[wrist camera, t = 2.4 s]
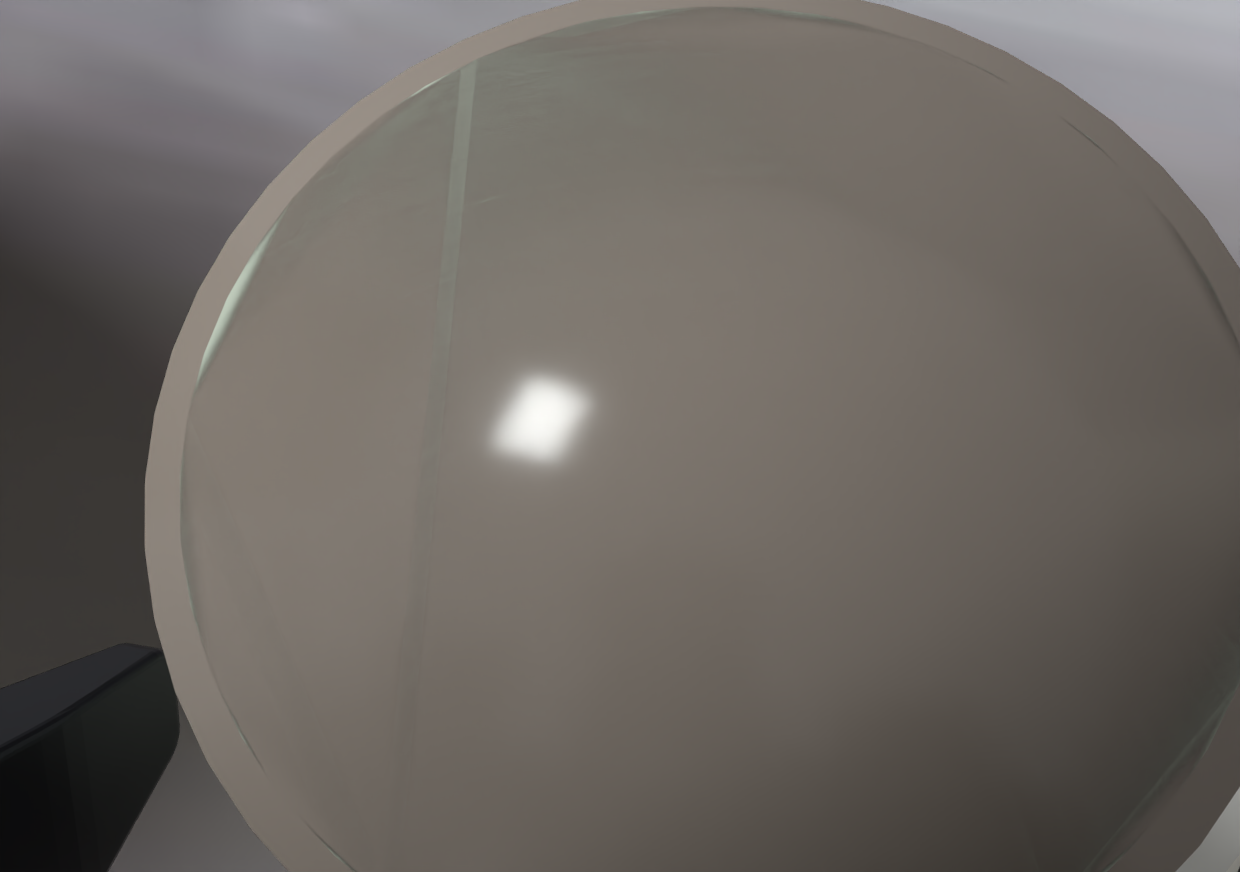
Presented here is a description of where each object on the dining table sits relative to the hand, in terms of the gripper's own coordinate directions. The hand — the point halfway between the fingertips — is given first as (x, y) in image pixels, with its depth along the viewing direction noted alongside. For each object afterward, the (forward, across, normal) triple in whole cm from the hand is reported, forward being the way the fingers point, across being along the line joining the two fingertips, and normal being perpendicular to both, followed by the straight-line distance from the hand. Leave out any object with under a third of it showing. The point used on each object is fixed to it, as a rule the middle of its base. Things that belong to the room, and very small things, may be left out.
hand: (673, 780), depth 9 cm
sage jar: (+8, 0, +5) cm, 9 cm away
